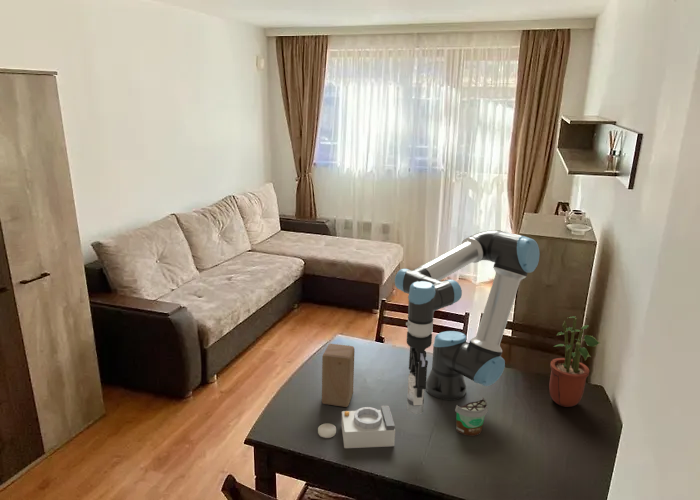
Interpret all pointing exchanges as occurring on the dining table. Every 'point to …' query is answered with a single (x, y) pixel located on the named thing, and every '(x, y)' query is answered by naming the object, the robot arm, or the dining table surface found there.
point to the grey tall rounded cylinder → (410, 398)
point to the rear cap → (327, 430)
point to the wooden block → (337, 375)
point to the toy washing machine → (368, 428)
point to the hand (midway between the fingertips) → (415, 398)
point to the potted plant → (570, 369)
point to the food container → (471, 417)
